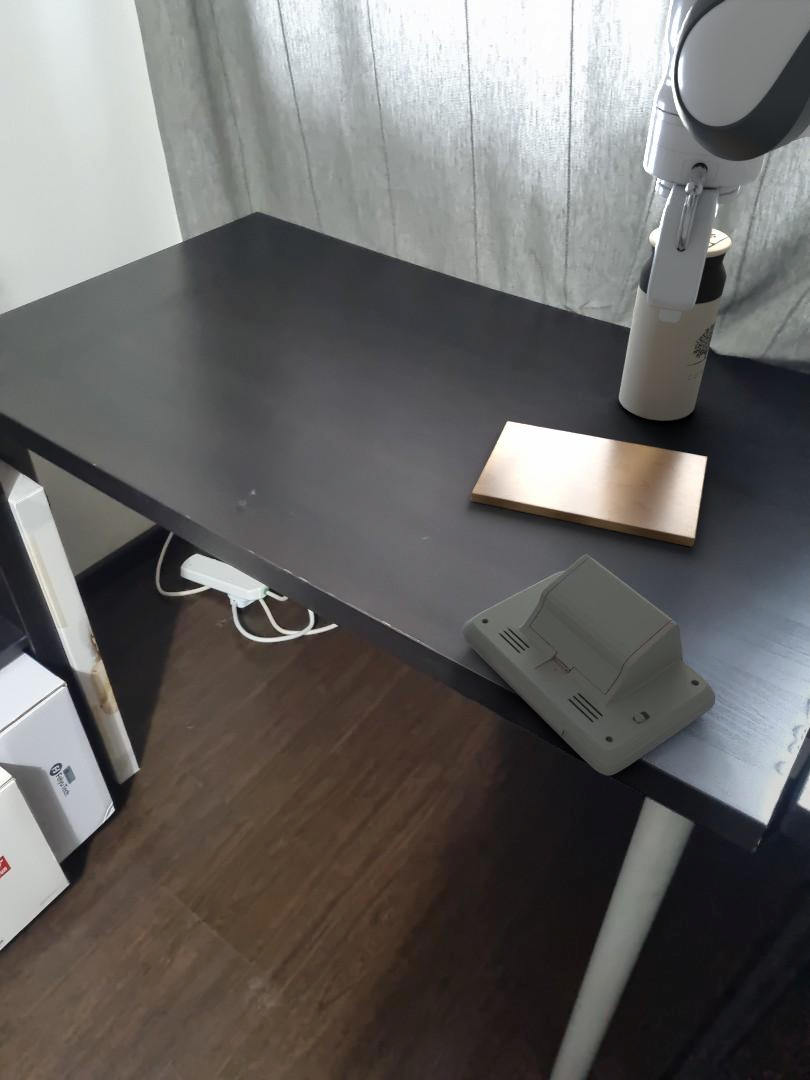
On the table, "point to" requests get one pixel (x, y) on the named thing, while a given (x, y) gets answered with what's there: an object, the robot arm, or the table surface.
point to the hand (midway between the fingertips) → (670, 315)
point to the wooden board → (595, 482)
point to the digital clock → (593, 663)
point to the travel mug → (672, 343)
